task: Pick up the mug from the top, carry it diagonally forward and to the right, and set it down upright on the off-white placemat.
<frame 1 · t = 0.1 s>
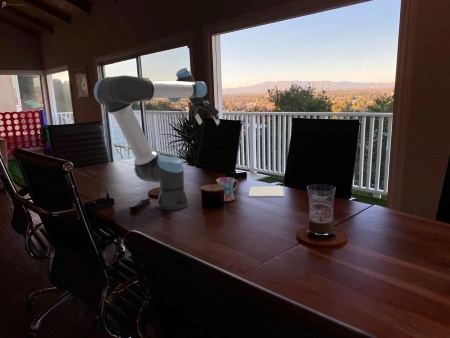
hand: (209, 123, 194), 36 cm above the table, tool tilted 35°, fingers open, 13 cm apart
placemat: (266, 191, 173), on the table
mug: (228, 199, 163), on the table
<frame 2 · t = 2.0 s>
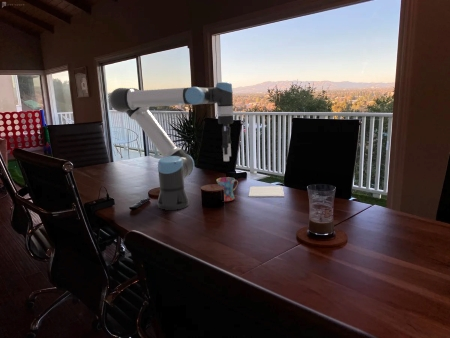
hand: (227, 158, 159), 21 cm above the table, tool pointing down, fingers open, 13 cm apart
nothing on the table moved.
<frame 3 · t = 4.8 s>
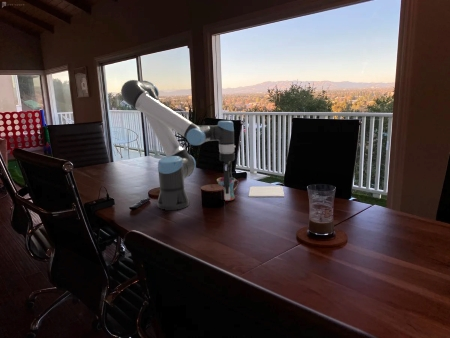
hand: (228, 196, 162), 1 cm above the table, tool pointing down, fingers closed on mug, 8 cm apart
mug: (229, 199, 163), on the table, touching gripper
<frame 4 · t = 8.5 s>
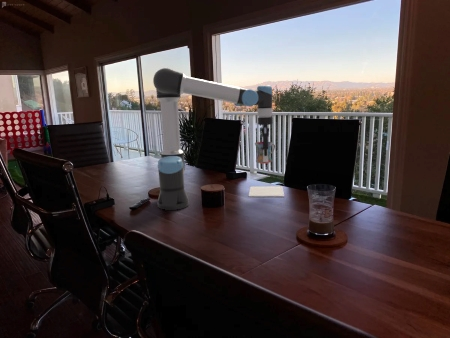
hand: (265, 160, 169), 17 cm above the table, tool pointing down, fingers closed on mug, 8 cm apart
mug: (265, 162, 170), point 16 cm above the table, touching gripper
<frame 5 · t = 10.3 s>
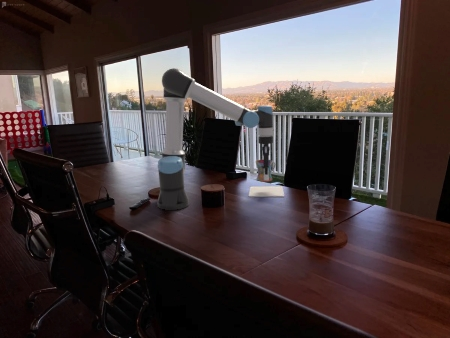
hand: (266, 178, 171), 8 cm above the table, tool pointing down, fingers closed on mug, 8 cm apart
mug: (266, 180, 172), point 6 cm above the table, touching gripper
when the fingers open (3 cm above the table, at t = 12.0 s): mug drops 1 cm, resting on placemat.
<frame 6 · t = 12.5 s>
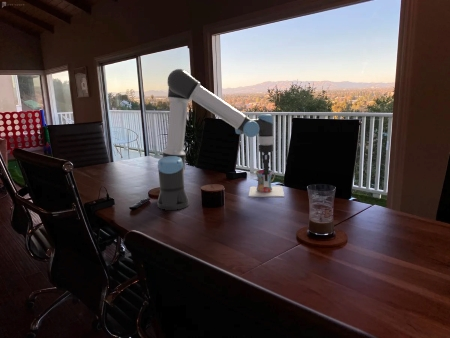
hand: (266, 183, 172), 5 cm above the table, tool pointing down, fingers open, 13 cm apart
mug: (266, 190, 174), resting on placemat
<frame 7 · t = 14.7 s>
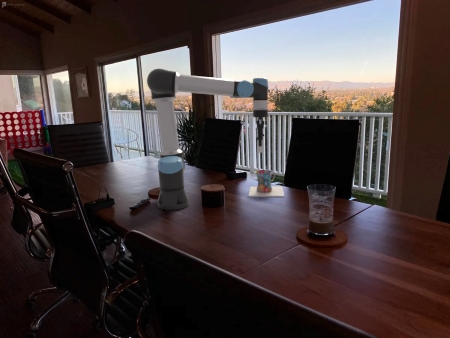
hand: (260, 150, 168), 23 cm above the table, tool pointing down, fingers open, 13 cm apart
nothing on the table moved.
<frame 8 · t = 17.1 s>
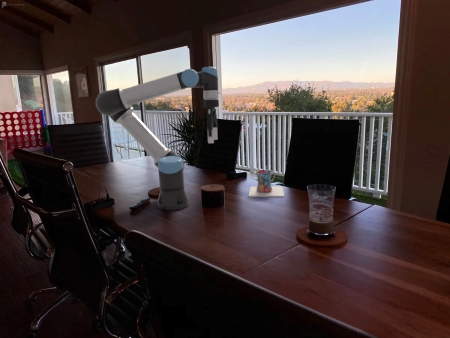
hand: (213, 141, 165), 29 cm above the table, tool pointing down, fingers open, 13 cm apart
nothing on the table moved.
at the end: mug inside the target area on the placemat (1.0 cm from its centre), point 0.4 cm above the placemat's base; mug tilted 0°; the gripper is holding nothing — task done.
